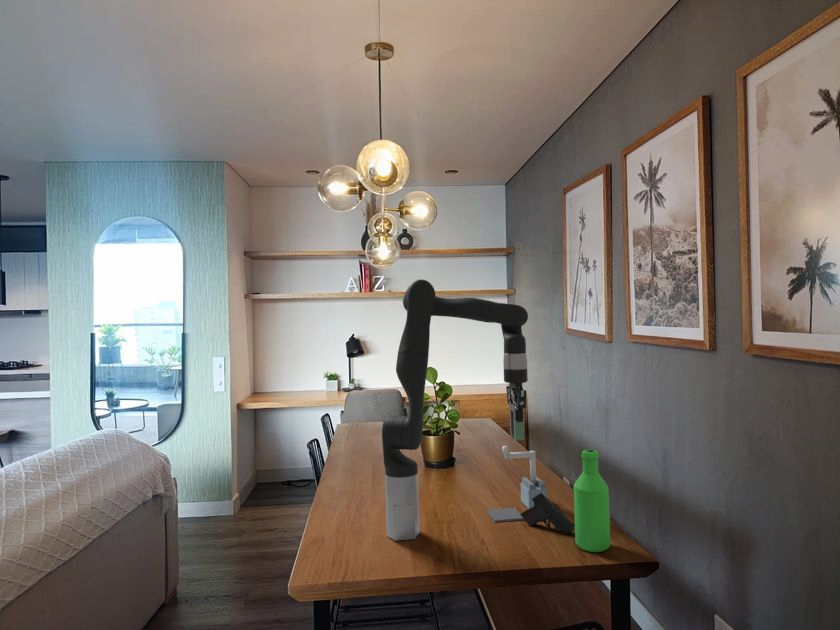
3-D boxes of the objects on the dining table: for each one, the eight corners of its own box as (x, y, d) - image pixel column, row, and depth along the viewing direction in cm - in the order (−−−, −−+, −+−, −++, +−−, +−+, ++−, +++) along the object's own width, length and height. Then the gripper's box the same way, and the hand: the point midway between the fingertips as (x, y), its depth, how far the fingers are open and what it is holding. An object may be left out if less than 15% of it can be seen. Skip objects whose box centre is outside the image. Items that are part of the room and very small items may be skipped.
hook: (524, 440, 173) (523, 405, 173) (515, 440, 172) (514, 405, 173) (519, 436, 178) (518, 402, 178) (510, 437, 178) (509, 403, 178)
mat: (523, 519, 163) (523, 517, 163) (494, 522, 161) (494, 520, 161) (514, 509, 172) (514, 507, 172) (486, 511, 170) (486, 509, 170)
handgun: (524, 512, 162) (541, 489, 158) (559, 548, 155) (578, 524, 151) (519, 515, 160) (536, 491, 156) (554, 552, 153) (574, 527, 149)
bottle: (587, 555, 137) (584, 456, 138) (568, 542, 146) (566, 448, 146) (617, 550, 140) (614, 453, 140) (597, 538, 148) (595, 445, 148)
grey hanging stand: (547, 507, 172) (545, 447, 173) (507, 510, 171) (506, 449, 171) (538, 499, 180) (537, 441, 180) (500, 502, 179) (499, 443, 179)
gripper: (534, 368, 169) (535, 423, 169) (519, 365, 183) (521, 415, 183) (510, 369, 168) (512, 424, 168) (497, 366, 182) (499, 416, 182)
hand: (516, 419), depth 175 cm, fingers closed on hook, 5 cm apart
